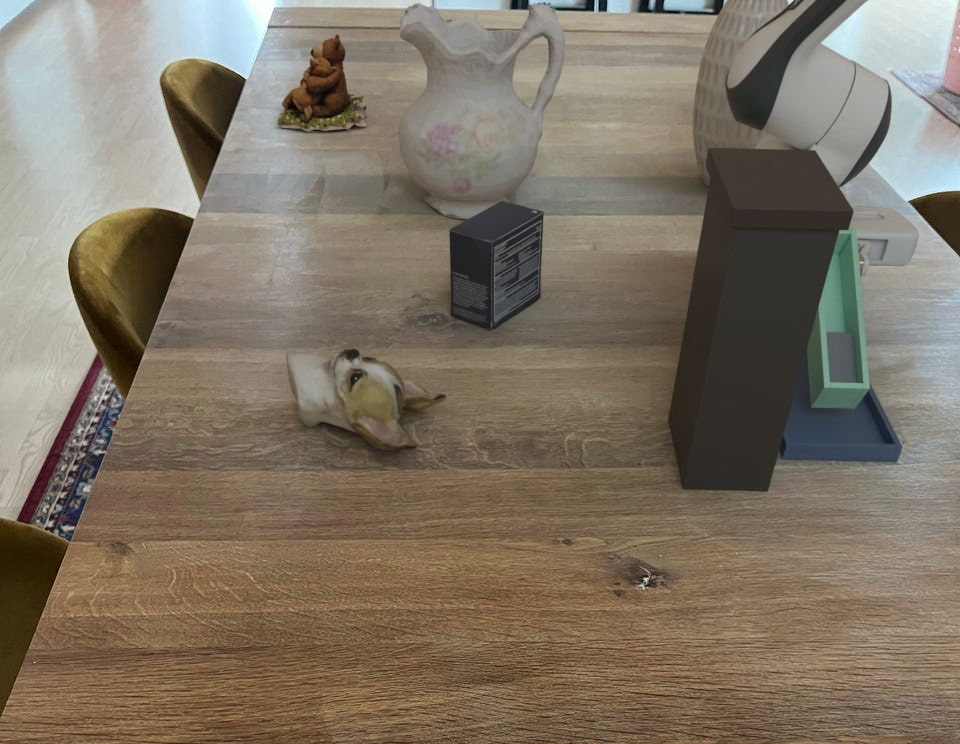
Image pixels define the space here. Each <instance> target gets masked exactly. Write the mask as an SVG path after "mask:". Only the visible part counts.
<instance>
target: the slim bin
mask: <svg viewBox="0 0 960 744" xmlns="http://www.w3.org/2000/svg"><path fill="white" fill-rule="evenodd" d="M861 277H862V276H860V265H859V253H858V241H857V229H849V230H839V234H838V237H837V241H836V245H835V248H834V252H833V256H832V259H831V263H830V267H829V270H828V274H827V278H826V281H825V285H824V288H823V292H822V296H821V299H820V303H819V307H818V310H817V314H816V318H815V321H814V325H813V329H812V332H811V336H810V340H809V343H808V347H807V357H808V372H809V387H810V402H811V408H846V409H855V408H856V406H857V405H858V404H859V402H860V401H861V400H862V398H863V397H864V396H865V394H866V393H867V392H868V390H869V389H870V384H871V382H870V373H869V372H870V371H869V361H868V349H867V337H866V326H865V325H866V324H865V315H864V313H865V312H864V302H863V301H864V300H863V291H862V290H863V289H862V278H861ZM869 382H870V383H869Z"/></svg>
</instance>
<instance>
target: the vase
mask: <svg viewBox="0 0 960 744" xmlns="http://www.w3.org/2000/svg"><path fill="white" fill-rule="evenodd" d="M789 4H790V3H789V1H788V0H726V2H725V3H724V5H723V6H722V8H721V9H720V11H719V13H718V15H717V17H716V19H715V21H714V23H713V25H712V27H711V30H710V32H709V35H708V38H707V41H706V43H705V45H704V50H703V53H702V56H701V59H700V64H699V69H698V74H697V80H696V86H695V92H694V101H693V112H692V136H693V147H694V153H695V154H694V155H695V158H696V164H697V166H698V169H699V172H700V176H701V178H702V180H703V183H704V185H705V186H706V187H708V188H709V183H710V176H709V174H708V171H707V169H706V166H705V165H706V159H707V154H708V148H739V149H754V148H755V146H756V145H757V144H758V143H759V142H760V141H761V140H762V139H763V138H764V137H766V136H767V135H769V133H767V132H765V131H763V130H761V131H760V130H757V129H755V128H752V127H750V126H747V125H745V124H742V123H740V122H737V121H736V120H735V119H734V116H733V114H732V112H731V109H730V106H729V103H728V99H727V94H726V88H725V81H726V77H727V74H728V71H729V69H730V66H731V64H732V62H733V60H734V59H735V57H736V55H737V53H738V52H739V50H740V49H741V47H742V46H743V45H744V43H745V42H746V41H747V40H748V38H749V37H750V36H751V35H752V34H753V33H754V32H755V31H756V30H758V29H759V28H760V27H761V26H763V25H764V24H765V23H767V22H768V21H770V20H771V19H772V18H774V17H775V16H776V15H778V14H779V13H780V12H781V11H783V10H784V9H785V8H786V7H787V6H788V5H789Z"/></svg>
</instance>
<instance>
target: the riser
mask: <svg viewBox="0 0 960 744" xmlns="http://www.w3.org/2000/svg"><path fill="white" fill-rule="evenodd" d="M705 166H706V169H707V171H708V174H709V176H710V183H709V187H708V189H707V194H706V201H705V208H704V212H703V218H702V223H701V229H700V235H699V240H698V246H697V252H696V258H695V262H694V263H695V264H694V270H693V275H692V281H691V287H690V291H689V292H690V293H689V298H688V305H687V309H686V316H685V321H684V326H683V332H682V338H681V343H680V349H679V355H678V362H677V368H676V373H675V378H674V384H673V390H672V396H671V401H670V408H669V412H668V418H667V421H668V426H669V430H670V434H671V439H672V444H673V448H674V453H675V458H676V463H677V468H678V473H679V476H680V482H681V487H682V490H707V491H708V490H709V491H711V490H712V491H747V492H748V491H751V492H752V491H753V492H769V489H770V486H771V482H772V478H773V475H774V471H775V466H776V463H777V460H778V456H779V453H780V450H779V449H780V445H781V442H782V438H783V435H784V431H785V427H786V424H787V420H788V416H789V413H790V409H791V405H792V402H793V398H794V394H795V391H796V387H797V383H798V380H799V376H800V372H801V369H802V365H803V361H804V358H805V354H806V351H807V347H808V343H809V340H810V336H811V332H812V329H813V325H814V321H815V318H816V314H817V310H818V307H819V303H820V299H821V296H822V292H823V288H824V285H825V281H826V278H827V274H828V270H829V267H830V263H831V259H832V256H833V252H834V248H835V245H836V241H837V237H838V234H839V230H849V226H850V222H851V219H852V215H853V212H854V210H853V209H852V207H853V206H852V205H851V204H850V202H849V201H848V199H847V197H846V196H845V194H844V192H843V190H842V189H841V187H840V188H839V187H838V185H837V184H836V182H835V180H834V179H833V177H832V176H831V174H830V173H829V171H828V170H827V168H826V166H825V165H824V163H823V162H822V160H821V159H820V157H819V155H818V154H817V152H816V151H815V150H781V149H739V148H708V154H707V159H706V165H705ZM840 189H841V190H842V191H841V190H840ZM842 192H843V193H842ZM843 194H844V195H843Z"/></svg>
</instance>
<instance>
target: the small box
mask: <svg viewBox="0 0 960 744" xmlns="http://www.w3.org/2000/svg"><path fill="white" fill-rule="evenodd" d="M544 214H545V212H544V211H543V210H538V209H535V208H530V207H527V206H525V205H524V206H523V205H519V204H515V203H512V202H510V203H508V202H504V201H500V202H499V203H497V204H495V205H493V206H491V207H490V208H488V209H486V210H484V211H482V212H480V213H479V214H477V215H475V216H473V217H471V218H469V219H465V220H464V221H462V222H460V223H458V224H457V225H455V226H453V227H451V228H449V229H448V231H449V232H448V233H449V235H448V236H449V263H450V264H449V271H450V273H449V277H450V279H449V280H450V316H451V317H453V318H455V319H459V320H461V321H463V322H467V323H470V324H472V325H475V326H478V327H481V328H483V329H487V330H489V331H492V330H494V329H496V328H498V327H500V326H501V325H502V324H503V323H505V322H507V321H508V320H510V319H511V318H513V317H514V316H515V315H517V314H518V313H521V311H523V310H525V309H526V308H528V307H529V306H531V305H532V304H534V303H535V302H536V301H538V300H540V299H541V286H542V284H541V282H542V260H543V259H542V256H543V255H542V254H543V237H544V235H543V233H544V216H545V215H544Z"/></svg>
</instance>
